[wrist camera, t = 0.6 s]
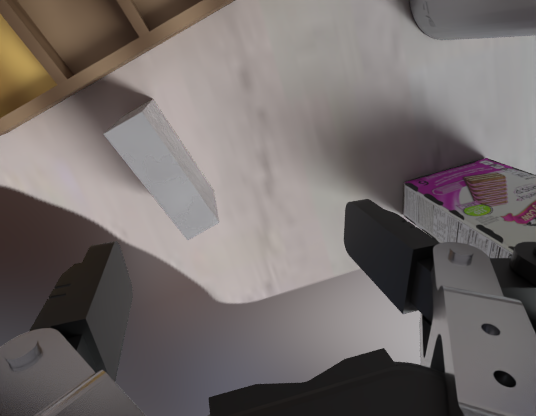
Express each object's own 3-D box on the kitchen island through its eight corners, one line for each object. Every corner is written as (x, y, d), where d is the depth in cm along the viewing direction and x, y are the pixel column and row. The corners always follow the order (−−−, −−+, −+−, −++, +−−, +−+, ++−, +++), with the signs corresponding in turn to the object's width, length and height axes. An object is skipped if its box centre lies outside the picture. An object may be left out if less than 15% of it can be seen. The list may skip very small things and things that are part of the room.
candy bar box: (486, 154, 37) (673, 217, 23) (481, 191, 40) (647, 269, 25) (400, 180, 36) (539, 263, 22) (400, 216, 38) (526, 313, 24)
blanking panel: (153, 98, 27) (141, 111, 21) (214, 189, 32) (219, 222, 26) (123, 115, 27) (103, 134, 21) (188, 204, 32) (187, 240, 26)
